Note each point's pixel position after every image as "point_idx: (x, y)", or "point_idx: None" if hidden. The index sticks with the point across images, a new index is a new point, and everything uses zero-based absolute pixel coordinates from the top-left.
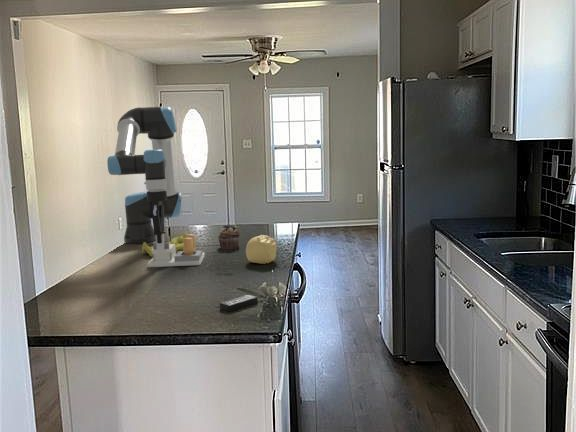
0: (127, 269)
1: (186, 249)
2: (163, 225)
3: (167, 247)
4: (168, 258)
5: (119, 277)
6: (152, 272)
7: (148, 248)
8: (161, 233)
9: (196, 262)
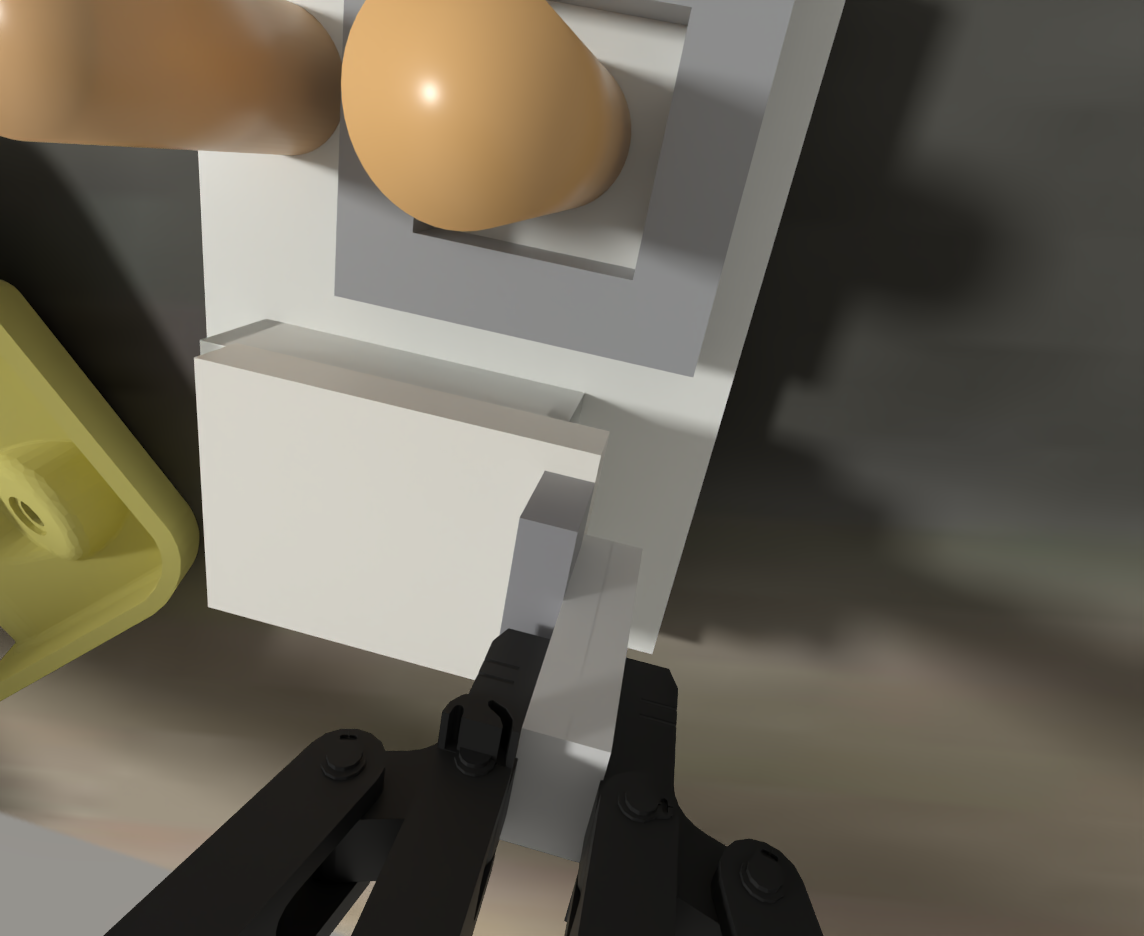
0: None
1: (603, 164)
2: (298, 872)
3: (586, 513)
4: None
5: (971, 864)
6: (942, 606)
7: (114, 634)
8: (675, 818)
9: (842, 7)
